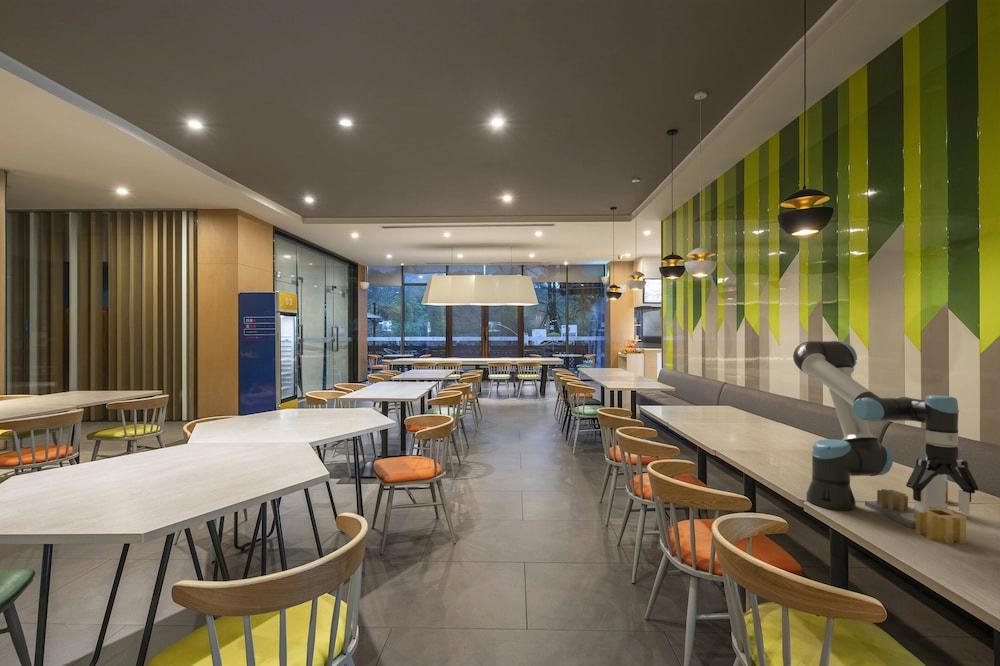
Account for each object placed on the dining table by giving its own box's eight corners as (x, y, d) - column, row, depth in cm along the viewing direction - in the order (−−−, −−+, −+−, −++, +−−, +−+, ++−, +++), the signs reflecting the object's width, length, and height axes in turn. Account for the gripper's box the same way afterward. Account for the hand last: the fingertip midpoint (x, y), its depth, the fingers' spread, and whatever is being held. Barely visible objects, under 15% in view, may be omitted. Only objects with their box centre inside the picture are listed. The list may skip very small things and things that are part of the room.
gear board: (910, 527, 152) (911, 505, 152) (864, 504, 172) (865, 485, 172) (948, 528, 151) (948, 506, 151) (897, 505, 171) (897, 486, 171)
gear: (938, 543, 140) (938, 518, 140) (909, 528, 151) (909, 506, 151) (973, 544, 140) (973, 519, 140) (941, 529, 151) (942, 506, 151)
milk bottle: (942, 513, 165) (942, 457, 165) (915, 505, 172) (915, 452, 171) (951, 509, 168) (952, 455, 168) (924, 502, 175) (925, 450, 175)
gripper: (911, 446, 142) (911, 515, 142) (994, 448, 141) (995, 517, 141) (891, 441, 150) (892, 506, 149) (970, 442, 149) (970, 508, 148)
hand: (942, 511), depth 145 cm, fingers open, 13 cm apart
